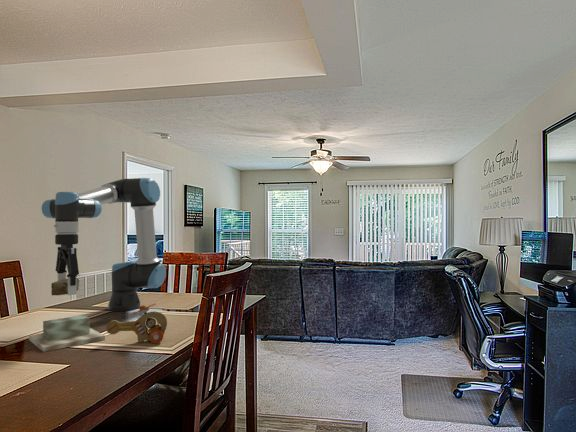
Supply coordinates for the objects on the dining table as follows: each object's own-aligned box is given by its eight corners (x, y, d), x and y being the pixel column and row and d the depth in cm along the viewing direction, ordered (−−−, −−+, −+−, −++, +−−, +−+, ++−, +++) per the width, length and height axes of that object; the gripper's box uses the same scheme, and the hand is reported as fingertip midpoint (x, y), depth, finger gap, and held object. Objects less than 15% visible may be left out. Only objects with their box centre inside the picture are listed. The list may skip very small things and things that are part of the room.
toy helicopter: (166, 343, 147) (166, 304, 147) (103, 347, 142) (103, 307, 143) (167, 337, 155) (167, 300, 155) (108, 340, 150) (108, 303, 151)
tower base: (86, 329, 166) (86, 310, 166) (104, 339, 152) (104, 319, 152) (28, 339, 152) (28, 319, 152) (43, 351, 138) (43, 329, 138)
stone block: (80, 290, 158) (80, 277, 158) (67, 296, 146) (67, 282, 146) (64, 290, 157) (64, 277, 157) (49, 296, 146) (49, 282, 146)
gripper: (46, 233, 158) (46, 290, 158) (65, 234, 141) (65, 298, 141) (67, 232, 164) (67, 287, 163) (88, 233, 147) (88, 295, 146)
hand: (66, 292), depth 152 cm, fingers closed on stone block, 12 cm apart
